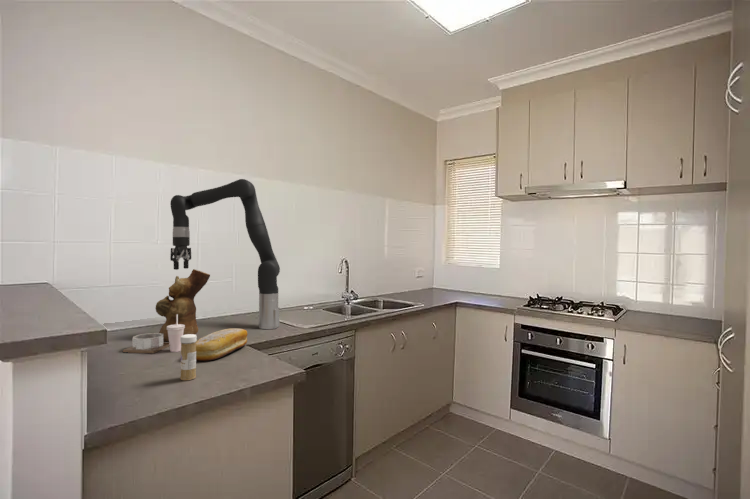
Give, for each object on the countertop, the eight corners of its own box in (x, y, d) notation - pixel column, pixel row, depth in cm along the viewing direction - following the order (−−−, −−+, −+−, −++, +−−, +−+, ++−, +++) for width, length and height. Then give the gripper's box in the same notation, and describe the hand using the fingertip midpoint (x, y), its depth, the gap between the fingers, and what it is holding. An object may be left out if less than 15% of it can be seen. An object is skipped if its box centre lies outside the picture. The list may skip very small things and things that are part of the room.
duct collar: (171, 345, 158) (171, 332, 158) (153, 353, 146) (153, 340, 146) (143, 344, 159) (143, 332, 159) (122, 352, 147) (122, 339, 147)
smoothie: (188, 349, 152) (188, 313, 152) (175, 353, 146) (175, 316, 146) (175, 347, 155) (176, 312, 154) (162, 351, 149) (162, 315, 148)
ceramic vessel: (156, 335, 174) (156, 268, 174) (208, 330, 184) (209, 267, 184) (154, 343, 160) (154, 271, 160) (211, 338, 170) (211, 270, 170)
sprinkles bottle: (177, 378, 120) (177, 335, 120) (192, 374, 124) (192, 332, 123) (184, 382, 117) (184, 337, 117) (199, 378, 121) (199, 335, 120)
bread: (253, 344, 161) (253, 325, 161) (217, 364, 135) (217, 341, 135) (223, 342, 164) (224, 324, 164) (182, 361, 138) (182, 339, 138)
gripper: (180, 236, 184) (180, 270, 184) (196, 236, 198) (196, 268, 199) (165, 235, 185) (165, 269, 185) (182, 236, 199) (182, 268, 199)
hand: (181, 269), depth 192 cm, fingers open, 8 cm apart
